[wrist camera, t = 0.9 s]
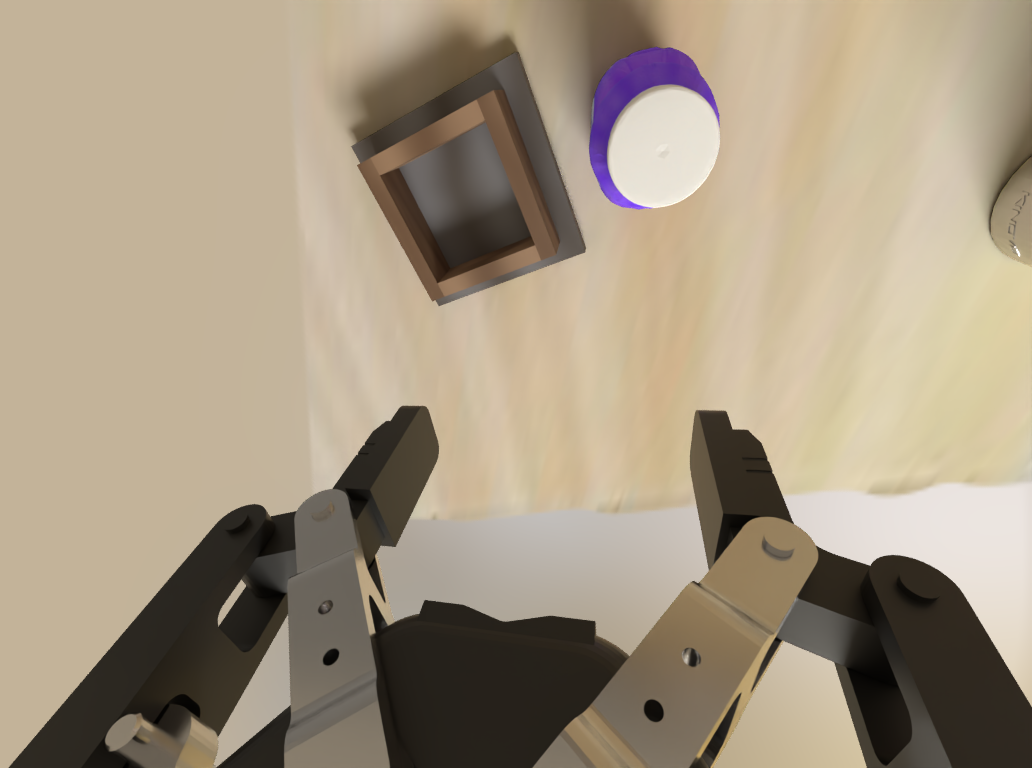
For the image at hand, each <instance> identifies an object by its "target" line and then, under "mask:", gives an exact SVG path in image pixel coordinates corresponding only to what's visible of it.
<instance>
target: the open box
mask: <svg viewBox="0 0 1032 768" xmlns="http://www.w3.org/2000/svg"><path fill="white" fill-rule="evenodd" d="M351 147H352V148H353V150H354V152H355V154H356V156H357V158H358V159H359V161H360V164H359V165H357V166H358V168H359V170H360V171H361V173H362V175H363V177H364V179H365V180H366V182H367V184H368V186H369V188H370V190H371V191H372V193H373V195H374V197H375V199H376V200H377V202H378V204H379V206H380V208H381V209H382V211H383V213H384V215H385V217H386V218H387V220H388V222H389V224H390V226H391V227H392V229H393V231H394V233H395V235H396V237H397V238H398V240H399V242H400V244H401V246H402V247H403V249H404V251H405V253H406V255H407V256H408V258H409V260H410V262H411V264H412V265H413V267H414V269H415V271H416V273H417V275H418V276H419V278H420V280H421V282H422V284H423V285H424V287H425V289H426V291H427V293H428V294H429V296H430V298H431V300H432V301H434V300H436V302H437V304H438V305H439V306H441V305H443V304H446V303H449V302H451V301H454V300H457V299H460V298H462V297H465V296H468V295H470V294H473V293H476V292H479V291H481V290H484V289H487V288H489V287H492V286H495V285H498V284H500V283H503V282H506V281H508V280H511V279H514V278H517V277H519V276H522V275H525V274H527V273H530V272H533V271H536V270H538V269H541V268H544V267H546V266H549V265H552V264H555V263H557V262H560V261H563V260H565V259H568V258H571V257H574V256H576V255H579V254H582V253H584V252H585V250H586V247H585V244H584V241H583V238H582V235H581V232H580V229H579V226H578V224H577V221H576V218H575V215H574V212H573V209H572V206H571V203H570V200H569V197H568V195H567V192H566V189H565V186H564V183H563V180H562V177H561V174H560V171H559V168H558V165H557V163H556V160H555V157H554V154H553V151H552V148H551V145H550V142H549V139H548V136H547V134H546V131H545V128H544V125H543V122H542V119H541V116H540V113H539V110H538V107H537V104H536V102H535V99H534V96H533V93H532V90H531V87H530V84H529V81H528V78H527V75H526V73H525V70H524V67H523V64H522V61H521V58H520V55H519V53H517V52H515V53H513V54H511V55H510V56H508V57H506V58H504V59H503V60H501V61H499V62H497V63H496V64H494V65H492V66H490V67H489V68H487V69H485V70H483V71H482V72H480V73H478V74H477V75H475V76H473V77H471V78H470V79H468V80H466V81H464V82H463V83H461V84H459V85H457V86H456V87H454V88H452V89H450V90H449V91H447V92H445V93H443V94H442V95H440V96H438V97H436V98H435V99H433V100H431V101H430V102H428V103H426V104H424V105H423V106H421V107H419V108H417V109H416V110H414V111H412V112H410V113H409V114H407V115H405V116H403V117H402V118H400V119H398V120H396V121H395V122H393V123H391V124H389V125H388V126H386V127H384V128H383V129H381V130H379V131H377V132H376V133H374V134H372V135H370V136H369V137H367V138H365V139H363V140H362V141H360V142H358V143H356V144H355V145H353V146H351Z"/></svg>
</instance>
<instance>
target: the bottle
mask: <svg viewBox="0 0 1032 768" xmlns="http://www.w3.org/2000/svg"><path fill="white" fill-rule="evenodd" d="M719 127H720V126H719V113H718V109H717V106H716V102H715V100H714V97H713V94H712V92H711V89H710V88H709V86H708V84H707V83H706V81H705V80H704V78H703V77H702V76H701V75H700V73H699V70H698V68H697V66H696V64H695V63H694V62H693V60H692V59H691V58H690V57H689V56H687V55H686V54H684V53H683V52H681V51H679V50H676V49H673V48H665V49H661V48H658V47H654V48H649V49H645V50H641V51H637V52H634V53H632V54H630V55H629V56H628V57H625V58H622V59H620V60H618V61H616V62H615V63H614V64H613V65H612V66H611V67H610V68H609V69H608V71H607V72H606V73H605V75H604V76H603V77H602V79H601V81H600V82H599V84H598V87H597V89H596V92H595V96H594V98H593V104H592V113H591V134H590V144H589V154H590V161H591V165H592V168H593V171H594V173H595V175H596V177H597V180H598V183H599V186H600V187H601V190H602V191H603V193H604V194H605V195H606V197H607V198H608V199H609V200H610V201H611V202H612V203H614V204H616V205H619V206H621V207H627V208H635V209H644V208H658V207H665V206H669V205H672V204H675V203H677V202H680V201H681V200H683V199H685V198H687V197H688V196H690V195H691V194H692V193H693V192H695V191H696V190H697V189H698V188H699V187H700V186H701V185H702V183H703V182H704V181H705V180H706V178H707V177H708V175H709V174H710V172H711V170H712V168H713V166H714V164H715V161H716V158H717V155H718V151H719V146H720V129H719Z"/></svg>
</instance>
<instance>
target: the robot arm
mask: <svg viewBox="0 0 1032 768" xmlns="http://www.w3.org/2000/svg"><path fill="white" fill-rule="evenodd" d="M991 235H992V238H993V240H994V243H995V245H996V246H997V247H998V248H999V249H1000V251H1001V252H1002V253H1004V254H1005V255H1007V256H1009V257H1010V258H1012V259H1014V260H1017V261H1019V262H1021V263H1024V264H1026V265H1028V266H1031V267H1032V156H1031V157H1030V158H1029V159H1028V160H1027V161H1026V162H1025V163H1024V164H1023V165H1022V166H1021V167H1020V168H1019V169H1018V170H1017V171H1016V172H1015V173H1014V174H1013V176H1012V177H1011V178H1010V180H1009V181H1008V183H1007V184H1006V185H1005V187H1004V188H1003V190H1002V191H1001V193H1000V195H999V197H998V199H997V201H996V203H995V206H994V209H993V213H992V217H991ZM438 454H439V445H438V440H437V437H436V434H435V430H434V427H433V424H432V420H431V417H430V414H429V411H428V409H427V407H425V406H401V407H400V408H399V409H398V411H397V412H396V414H395V415H394V417H393V418H392V420H391V421H386V422H384V423H383V424H382V425H381V426H379V427H378V428H377V429H376V430H374V431H373V432H372V434H371V435H370V436H369V438H368V439H367V441H366V442H365V445H363V446H362V448H361V449H360V451H359V452H358V455H356V456H355V458H354V459H353V460H352V462H351V463H350V465H349V466H348V467H347V469H346V470H345V472H344V473H343V475H342V476H341V477H340V479H339V480H338V482H337V483H336V484H335V486H334V487H333V489H329V490H324V491H321V492H319V493H317V494H314V495H313V496H311V497H310V498H308V499H307V500H306V501H305V502H303V504H302V505H301V506H300V507H299V508H298V510H297V511H295V512H290V513H285V514H281V515H276V516H271V517H270V516H269V514H268V512H267V511H266V510H265V508H264V507H263V506H261V505H256V504H252V505H246V506H243V507H240V508H238V509H236V510H234V511H232V512H230V513H228V514H227V515H226V516H224V517H223V518H222V519H221V520H220V521H219V522H218V523H217V524H216V525H215V526H214V527H213V528H212V530H211V531H210V532H209V533H208V534H207V535H206V537H205V538H204V539H203V540H202V541H201V543H200V544H199V545H198V546H197V547H196V548H195V549H194V551H193V552H192V553H191V554H190V556H188V558H187V559H186V560H185V561H184V562H183V564H182V565H181V566H180V567H179V568H178V569H177V571H176V572H175V573H174V574H173V575H172V576H171V578H170V579H169V580H168V581H167V582H166V584H165V585H164V586H163V587H162V588H161V589H160V591H159V592H158V593H157V594H156V595H155V596H154V598H153V599H152V600H151V601H150V602H149V603H148V605H147V606H146V607H145V608H144V609H143V611H142V612H141V613H140V614H139V615H138V616H137V618H136V619H135V620H134V621H133V622H132V623H131V625H130V626H129V627H128V628H127V629H126V631H125V632H124V633H123V634H122V635H121V636H120V638H119V639H118V640H117V641H116V642H115V643H114V645H113V646H112V647H111V648H110V650H108V652H107V653H106V654H105V655H104V656H103V657H102V659H101V660H100V661H99V662H98V663H97V665H96V666H95V667H94V668H93V669H92V670H91V672H90V673H89V674H88V675H87V676H86V678H85V679H84V680H83V681H82V682H81V683H80V684H79V686H78V687H77V688H76V689H75V690H74V692H73V693H72V694H71V695H70V696H69V697H68V699H67V700H66V701H65V702H64V703H63V704H62V706H61V707H60V708H59V709H58V710H57V712H56V713H55V714H54V715H53V716H52V717H51V719H50V720H49V721H48V722H47V723H46V724H45V726H44V727H43V728H42V729H41V730H40V732H39V733H38V734H37V735H36V736H35V737H34V738H33V740H32V741H31V742H30V743H29V744H28V746H27V747H26V748H25V749H24V750H23V751H22V753H21V754H20V755H19V756H18V757H17V758H16V760H15V761H14V762H13V763H12V764H11V766H10V767H9V768H713V767H714V765H715V763H716V762H717V760H718V758H719V756H720V755H721V753H722V751H723V749H724V748H725V746H726V744H727V742H728V741H729V739H730V737H731V735H732V734H733V732H734V730H735V728H736V726H737V724H738V722H739V720H740V718H741V716H742V714H743V712H744V710H745V708H746V706H747V704H748V702H749V700H750V698H751V697H752V695H753V693H754V691H755V690H756V688H757V686H758V685H759V683H760V681H761V680H762V678H763V676H764V674H765V673H766V671H767V669H768V667H769V666H770V664H771V662H772V660H773V659H774V657H775V655H776V654H777V652H778V650H779V648H780V647H781V645H782V643H783V642H784V641H785V642H788V643H790V644H792V645H795V646H797V647H799V648H802V649H804V650H807V651H809V652H812V653H814V654H816V655H819V656H821V657H823V658H826V659H828V660H831V661H833V662H834V663H835V666H836V670H837V673H838V676H839V679H840V682H841V686H842V689H843V692H844V695H845V698H846V701H847V705H848V708H849V711H850V714H851V718H852V721H853V724H854V727H855V730H856V733H857V737H858V740H859V743H860V746H861V750H862V753H863V756H864V759H865V762H866V766H867V768H1032V707H1031V705H1030V703H1029V702H1028V700H1027V698H1026V697H1025V695H1024V694H1023V692H1022V690H1021V689H1020V687H1019V685H1018V684H1017V682H1016V680H1015V679H1014V677H1013V675H1012V674H1011V672H1010V670H1009V669H1008V667H1007V666H1006V664H1005V662H1004V660H1003V659H1002V657H1001V655H1000V654H999V652H998V651H997V649H996V647H995V646H994V644H993V642H992V641H991V639H990V637H989V636H988V634H987V632H986V631H985V629H984V627H983V626H982V624H981V622H980V621H979V619H978V617H977V616H976V614H975V612H974V611H973V609H972V607H971V606H970V604H969V602H968V601H967V599H966V598H965V596H964V594H963V593H962V592H961V590H960V589H959V588H958V586H957V585H956V584H955V583H954V582H953V581H952V580H950V579H949V578H948V577H947V576H946V575H944V574H943V573H941V572H940V571H939V570H937V569H935V568H933V567H932V566H930V565H928V564H926V563H924V562H921V561H919V560H916V559H913V558H909V557H905V556H898V555H888V556H883V557H880V558H878V559H876V560H875V561H874V562H873V563H872V564H871V566H869V565H866V564H863V563H860V562H856V561H853V560H850V559H847V558H844V557H841V556H838V555H835V554H832V553H829V552H827V551H825V550H823V549H821V548H819V547H818V546H816V545H815V543H814V542H813V540H812V539H811V538H810V536H809V535H808V534H807V533H806V532H804V531H803V530H802V529H801V528H799V527H797V526H796V525H794V523H793V521H792V519H791V516H790V514H789V511H788V509H787V506H786V504H785V501H784V499H783V496H782V494H781V491H780V489H779V486H778V484H777V481H776V479H775V476H774V474H772V468H771V466H770V463H769V461H767V456H766V453H765V451H764V448H763V446H762V443H761V442H760V441H759V440H758V439H757V438H755V437H754V436H753V435H752V434H751V433H750V432H749V431H748V430H732V427H731V424H730V421H729V417H728V415H727V412H726V411H709V410H697V411H696V412H695V417H694V425H693V433H692V442H691V450H690V470H691V477H692V482H693V487H694V493H695V498H696V504H697V509H698V514H699V520H700V525H701V530H702V535H703V541H704V547H705V552H706V557H707V563H708V568H709V572H708V573H707V574H706V575H705V577H704V578H703V579H702V580H701V581H700V582H699V583H696V582H695V581H692V582H691V583H690V584H688V585H687V586H686V587H685V588H684V589H683V590H682V592H681V593H680V594H679V595H678V597H677V598H676V599H675V600H674V602H673V603H672V604H671V605H670V607H669V608H668V609H667V611H666V612H665V613H664V614H663V615H662V617H661V618H660V619H659V620H658V622H657V623H656V624H655V625H654V627H653V628H652V629H651V630H650V632H649V633H648V634H647V635H646V637H645V638H644V639H643V640H642V642H641V643H640V644H639V645H638V647H637V648H636V649H635V650H634V652H633V653H632V654H631V655H630V656H629V655H628V654H627V653H625V652H624V651H623V650H621V649H620V648H619V647H617V646H616V645H614V644H612V643H611V642H609V641H607V640H605V639H603V638H601V637H598V636H596V626H595V625H596V624H595V621H588V620H580V619H571V618H564V617H556V616H546V617H538V618H531V619H524V620H516V621H509V622H503V621H499V620H497V619H495V618H492V617H490V616H488V615H486V614H483V613H481V612H479V611H476V610H474V609H472V608H470V607H467V606H465V605H459V604H451V603H443V602H436V601H428V600H425V601H424V603H423V606H422V609H421V611H420V614H416V615H412V616H409V617H405V618H403V619H400V620H399V621H396V622H395V621H394V618H393V615H392V612H391V608H390V604H389V600H388V596H387V592H386V588H385V584H384V580H383V576H382V572H381V568H380V564H379V560H378V557H377V555H376V553H377V551H378V550H379V548H380V546H381V545H382V546H392V547H396V545H397V543H398V541H399V538H400V537H401V534H402V532H403V530H404V528H405V526H406V524H407V522H408V520H409V518H410V516H411V514H412V512H413V510H414V508H415V505H416V503H417V501H418V499H419V497H420V495H421V493H422V491H423V489H424V487H425V485H426V483H427V481H428V479H429V476H430V474H431V472H432V470H433V468H434V466H435V464H436V462H437V459H438ZM241 579H242V581H243V582H244V583H245V584H246V588H245V589H244V590H243V592H242V593H241V595H240V596H239V598H238V599H237V601H236V602H235V603H234V605H233V606H232V608H231V609H230V611H229V612H228V614H227V615H226V617H225V618H224V620H223V621H222V622H221V624H220V625H219V627H218V615H219V612H220V609H221V608H222V606H223V605H224V603H225V602H226V600H227V599H228V597H229V596H230V595H231V593H232V592H233V590H234V589H235V587H236V586H237V585H238V583H239V582H240V580H241ZM287 615H288V624H289V659H290V696H291V705H290V706H289V707H288V708H287V709H285V710H284V711H283V712H282V713H281V714H279V715H278V716H277V717H276V718H275V719H274V720H272V721H271V722H270V723H269V724H268V725H267V726H265V727H264V728H263V729H262V730H261V731H259V732H258V733H257V734H256V735H255V736H253V737H252V738H251V739H250V740H249V741H248V742H246V743H245V744H244V745H243V746H241V747H240V748H239V749H238V750H237V751H236V752H234V753H233V754H232V755H231V756H230V757H228V758H227V759H226V760H225V761H224V762H223V763H222V764H220V765H219V766H218V767H215V765H214V762H215V759H216V756H217V751H218V736H219V734H220V733H221V731H222V729H223V727H224V726H225V724H226V722H227V720H228V719H229V717H230V715H231V713H232V712H233V710H234V708H235V706H236V705H237V703H238V701H239V699H240V698H241V696H242V694H243V692H244V690H245V689H246V687H247V685H248V683H249V682H250V680H251V678H252V676H253V675H254V673H255V671H256V669H257V668H258V666H259V664H260V662H261V661H262V659H263V657H264V655H265V654H266V652H267V650H268V648H269V646H270V645H271V643H272V641H273V639H274V638H275V636H276V634H277V632H278V631H279V629H280V627H281V625H282V624H283V622H284V620H285V618H286V617H287Z"/></svg>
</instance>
